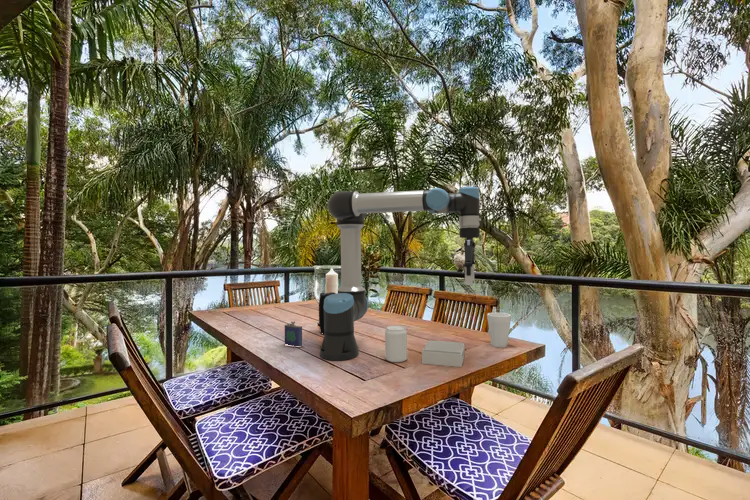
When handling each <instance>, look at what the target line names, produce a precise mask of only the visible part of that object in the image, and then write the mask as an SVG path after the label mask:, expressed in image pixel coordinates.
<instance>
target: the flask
mask: <svg viewBox="0 0 750 500" xmlns="http://www.w3.org/2000/svg"><path fill="white" fill-rule="evenodd" d="M285 344H288V345H294V346H302V347H303V326H302V325H296V321H290V323H286V324H284V345H285Z"/></svg>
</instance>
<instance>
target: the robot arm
mask: <svg viewBox="0 0 750 500" xmlns="http://www.w3.org/2000/svg"><path fill="white" fill-rule="evenodd" d="M480 201H481V200H480V189H479V187H477V186H471V185H470V186H462V187H460V188H459V189H458V192H454V193H451V192H450V193H448V192H447V191H446V190H445V189H444V188H443V189H442V188H440V187H435V188H432V189H420V190H419V189H418V190H405V191H404V190H403V191H384V192H367V193H365V192H364V193H363V192H362V193H360V192H359V191H356V190H353V191H352V190H351V191H349V190H348V191H346V190H339V191H335V192H334V193H333V194H332V195H331V196H330V198H329V199H328V201H327V209H328V212H329V214H330V215H331V216H332V217H333V218H334V219H336V226H337V228H338V229H339V230H340V278H341V280H340V287H339V288H338V289H337V293H336V292H335V293H336V294H332V295H329V296H327V297H326V298H325V299H324V306H323V308H324V335H323V338H322V343H321V346H320V348H319V356H321V357H320V358H322V357H323V358H322V359H324V358H325V359H324V360H327V359H329V360H328V361H347V360H351V359H355V358H356V357H358V356H359V354H360V353H359V352H360V351H359V350H360V349H359V346H358V342H357V339H356V337H355V322H356V321H358V320H361V319H362V318H363V317H364V316H365V315H366V314H367V312H368V309H369V300H368V297H366V289H365V288H364V286H362V243H361V241H362V240H361V239H362V237H361V236H362V235H361V234H362V231H361V230H362V229H363V227H364V226H365V218H366V217H367V214H376V213H377V214H379V213H381V214H382V213H403V212H404V213H405V212H406V213H407V212H424V211H425V212H427V211H428V212H429V213H430V214H446V213H447V214H449V213H450V214H451V213H452V214H453V213H454V214H455V213H459V217H458V219H459V221H458V222H459V223H458V224H459V227H460V228H459V238H461V239H463V238H464V239H465V240H464V243H463V248H464V263H463V264H462V267H463V268H464V285H467V286H468V285H469V286H470V285H472V286H473V282H475V265H477V262H476V261H475V251H476V249H475V248H476V242H475V240H474V239H476V238H480V237H481V236H480V235H481V233H480V222H481V221H482V218H480V207H481V206H480V203H481V202H480Z"/></svg>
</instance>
